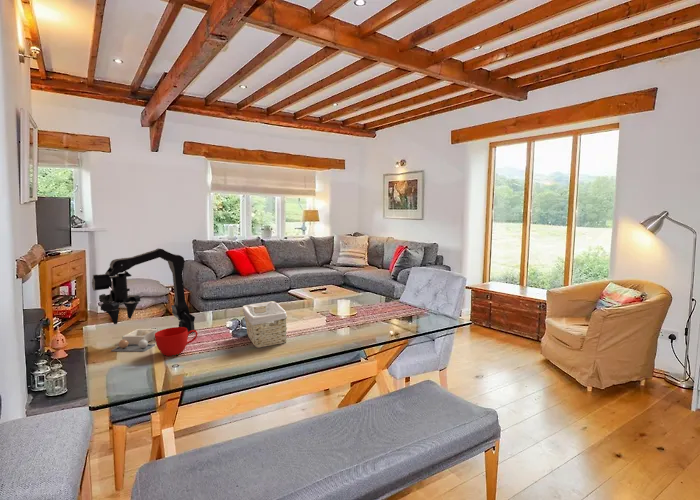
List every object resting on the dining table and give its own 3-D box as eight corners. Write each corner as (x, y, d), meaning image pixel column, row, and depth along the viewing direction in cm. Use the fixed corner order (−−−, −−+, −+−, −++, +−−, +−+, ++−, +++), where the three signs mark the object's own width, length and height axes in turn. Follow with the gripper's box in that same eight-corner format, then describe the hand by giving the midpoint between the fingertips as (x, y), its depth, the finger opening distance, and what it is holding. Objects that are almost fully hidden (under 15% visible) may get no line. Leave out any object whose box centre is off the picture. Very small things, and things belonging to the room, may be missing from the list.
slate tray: (155, 346, 189) (155, 344, 188) (144, 352, 181) (144, 350, 181) (123, 346, 191) (123, 343, 191) (111, 352, 183) (111, 350, 183)
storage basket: (289, 343, 184) (287, 311, 182) (253, 350, 178) (250, 317, 176) (276, 329, 206) (274, 300, 204) (243, 334, 199) (241, 305, 198)
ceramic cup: (201, 353, 177) (199, 330, 176) (158, 362, 169) (155, 338, 167) (196, 344, 188) (194, 323, 187) (155, 352, 180) (153, 330, 179)
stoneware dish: (158, 337, 202) (157, 329, 201) (144, 344, 191) (143, 336, 190) (138, 336, 203) (137, 329, 203) (122, 344, 193) (122, 336, 192)
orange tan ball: (131, 346, 188) (130, 338, 188) (125, 349, 184) (124, 341, 184) (123, 346, 189) (122, 338, 188) (117, 349, 185) (115, 341, 184)
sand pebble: (151, 339, 198) (153, 331, 200) (146, 338, 195) (148, 329, 196) (143, 339, 199) (145, 331, 201) (138, 338, 195) (140, 329, 197)
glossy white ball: (150, 346, 187) (149, 338, 186) (144, 349, 183) (143, 341, 182) (142, 346, 187) (141, 338, 187) (136, 349, 183) (135, 341, 183)
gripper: (118, 283, 195) (121, 315, 197) (87, 291, 177) (90, 326, 178) (139, 283, 193) (142, 316, 195) (111, 291, 175) (114, 327, 177)
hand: (122, 321), depth 186 cm, fingers open, 9 cm apart
